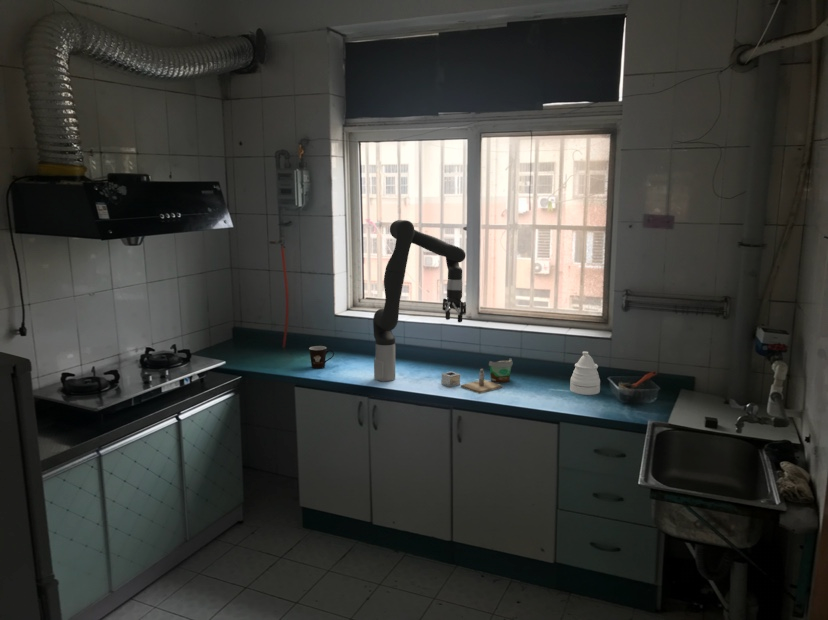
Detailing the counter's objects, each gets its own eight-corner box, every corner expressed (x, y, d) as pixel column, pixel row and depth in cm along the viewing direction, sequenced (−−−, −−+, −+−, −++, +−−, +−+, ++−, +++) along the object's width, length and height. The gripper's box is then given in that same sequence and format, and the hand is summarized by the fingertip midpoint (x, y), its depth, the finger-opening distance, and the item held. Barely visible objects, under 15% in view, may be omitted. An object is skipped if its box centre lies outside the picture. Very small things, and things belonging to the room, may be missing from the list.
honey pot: (594, 396, 280) (597, 356, 277) (566, 391, 287) (567, 352, 284) (603, 388, 291) (605, 350, 288) (575, 384, 298) (577, 346, 294)
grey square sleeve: (450, 387, 293) (450, 376, 292) (441, 384, 298) (441, 373, 297) (459, 384, 297) (460, 374, 296) (451, 381, 302) (451, 371, 301)
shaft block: (479, 393, 284) (480, 374, 283) (461, 387, 294) (461, 368, 292) (501, 387, 293) (502, 369, 291) (483, 381, 302) (483, 363, 301)
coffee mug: (306, 368, 324) (305, 349, 322) (315, 364, 331) (314, 345, 330) (326, 371, 319) (326, 351, 317) (335, 366, 327) (334, 347, 325)
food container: (495, 385, 296) (496, 364, 294) (488, 381, 302) (488, 361, 300) (517, 381, 302) (518, 360, 300) (509, 378, 307) (510, 357, 305)
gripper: (439, 287, 319) (438, 319, 322) (459, 290, 308) (458, 324, 311) (450, 286, 324) (449, 317, 326) (470, 289, 313) (469, 322, 316)
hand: (453, 320), depth 319 cm, fingers open, 8 cm apart
